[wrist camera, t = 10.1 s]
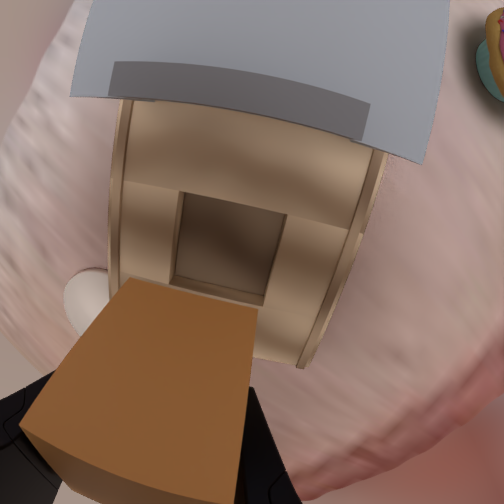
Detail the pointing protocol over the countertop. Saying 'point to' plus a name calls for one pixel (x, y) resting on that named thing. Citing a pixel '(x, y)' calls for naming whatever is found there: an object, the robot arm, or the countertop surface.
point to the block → (150, 400)
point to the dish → (86, 297)
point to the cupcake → (492, 55)
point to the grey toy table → (277, 62)
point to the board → (240, 214)
